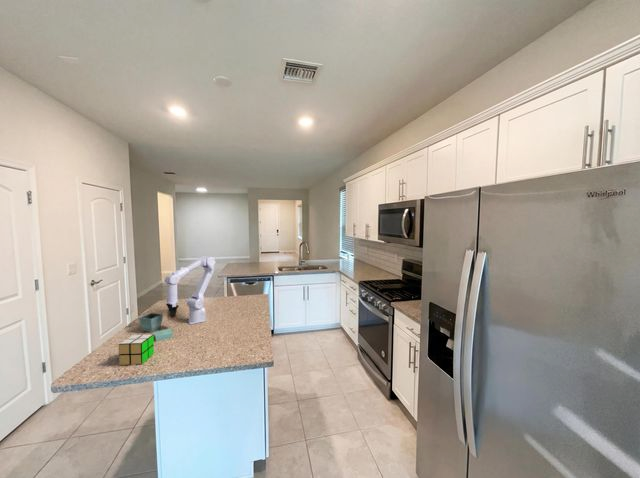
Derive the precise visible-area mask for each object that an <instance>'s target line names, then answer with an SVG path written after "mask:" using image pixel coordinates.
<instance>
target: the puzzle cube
mask: <svg viewBox="0 0 640 478" xmlns="http://www.w3.org/2000/svg"><path fill="white" fill-rule="evenodd" d="M154 341H155V337H154V334H131V336H129V337H128V338H127V337H126V339H124V340H123V341H121V342H120V343H118V365H119V366H130V365H131V366H132V365H133V364H138V365H143V364H144V363H145V362H146V361H147V360H148V359H150V358H151V357H152V356H153V355H154V354H155V345H154Z"/></svg>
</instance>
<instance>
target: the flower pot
mask: <svg viewBox="0 0 640 478" xmlns="http://www.w3.org/2000/svg"><path fill="white" fill-rule="evenodd" d="M163 316H164V314H163V313H152V312H151V313H149V314H146V315H143V316H140V317H139V318H138V320H139V324H140V327H141V329H142V331H144V332H148V333H153V332H156V331H157V330H159V329H160V327H161V325H162V323H163Z"/></svg>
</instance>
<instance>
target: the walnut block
mask: <svg viewBox="0 0 640 478" xmlns="http://www.w3.org/2000/svg"><path fill="white" fill-rule="evenodd" d="M166 313H167V320H168V321H172V320H177V319H178V310H177V311H176V316H175V317H171V315H170V310H169V309H168V308H167V311H166Z"/></svg>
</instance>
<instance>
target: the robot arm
mask: <svg viewBox="0 0 640 478" xmlns="http://www.w3.org/2000/svg"><path fill="white" fill-rule="evenodd" d="M215 264H217V263H216V260H215V258H214V257H213V256H206V255H203V256H200V257H198V258H197V259H196V260H195V261H193V262H191V263H190V264H188V265H187V266H186V267H184V266H183V267H179V269H178V270H176V271H173V272H172V273H171V274H170V273H169V274H167V275H166V276H165V278H164V282H165V284H166V301H164V304H165V305H166V307H167V310H168V309H169V310H170V315H171V317H175V316H176V311H177V312H178V309H179V305H180V304H179V305H178V302H179V300H178V284H179V282H180V281H181V280H182V279H184V278H185V277H187V276H188V275H189V274H190V272H192V271H193V270H195V269H197V268H198V267H202V268H203V270H204V272H203V274H202V277H201V279H200V281H199V283H198V286H197V288H196V290H195V292H194V293H193V294H191V296H190V297H189V298H188V299H187V301H186V305H187V307H188V309H189V310H188V311H189V313H188V316H189V319H188V320H187V322H188V324H189V325H193V324H194V325H195V324H199V323H203V322H206V308H205V307H204V302H205V296H204V295H205V292H206V290H207V288H208V286H209V283H210V282H211V280H212V279H211V278H212V276H213V274H214V273H215Z"/></svg>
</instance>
